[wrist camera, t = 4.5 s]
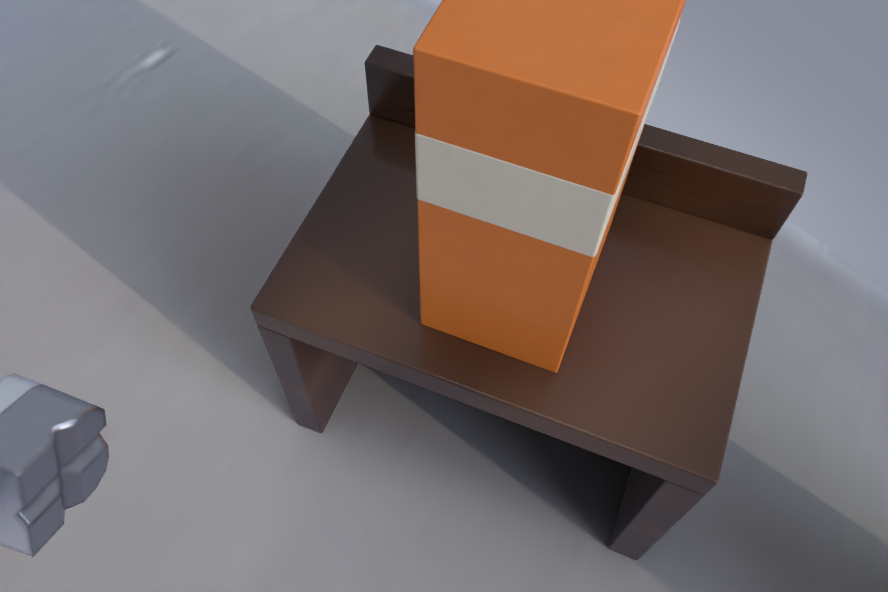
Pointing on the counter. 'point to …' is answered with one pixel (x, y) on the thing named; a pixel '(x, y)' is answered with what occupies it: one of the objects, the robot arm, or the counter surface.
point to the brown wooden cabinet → (596, 328)
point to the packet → (526, 158)
